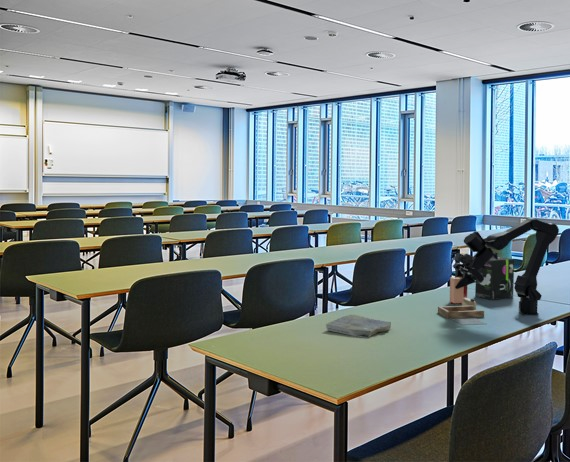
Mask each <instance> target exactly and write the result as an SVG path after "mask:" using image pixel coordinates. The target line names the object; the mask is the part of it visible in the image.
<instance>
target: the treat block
mask: <svg viewBox="0 0 570 462" xmlns="http://www.w3.org/2000/svg"><path fill="white" fill-rule="evenodd" d="M449 278H450V280H449V302H450V301H451V302H453V303H463V299H464V287H461V288H459V289H456V288H455V287H456V285H457V284H458V282H459V281H460V280H461V278H462V277H455V276H451V277H449Z"/></svg>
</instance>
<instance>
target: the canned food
mask: <svg viewBox="0 0 570 462" xmlns="http://www.w3.org/2000/svg"><path fill="white" fill-rule="evenodd" d="M464 298H468V285H466V286H464ZM449 303H450V304H453V305H462V303H453V302H451V301H450V300H449Z"/></svg>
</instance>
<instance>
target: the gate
mask: <svg viewBox="0 0 570 462" xmlns="http://www.w3.org/2000/svg"><path fill="white" fill-rule="evenodd" d="M472 305H473V306H474V311H475V310H477V301H475V298H468V297H467V298H464V299H463V303H462V304H461V306H472Z"/></svg>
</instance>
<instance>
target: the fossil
mask: <svg viewBox="0 0 570 462" xmlns="http://www.w3.org/2000/svg"><path fill="white" fill-rule="evenodd" d="M325 327H326V330H327V331H329V332H333V333H338V334H339V333H340V334H344V335H347V336H348V335H349V336H352V337H357V338H358V337H359V338H365V339H368V338H369V337H371V336H374V335H375V334H377V333H378V334H379V333H381V332H387V331H390V329H391V327H392V322H391V321H385V320H380V319H374V318H369V317H364V316H361V315H358V314H348V315H344V316H342V317H340V318H337V319H335V320H333V321H330V322H328V323H326V325H325Z"/></svg>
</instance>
